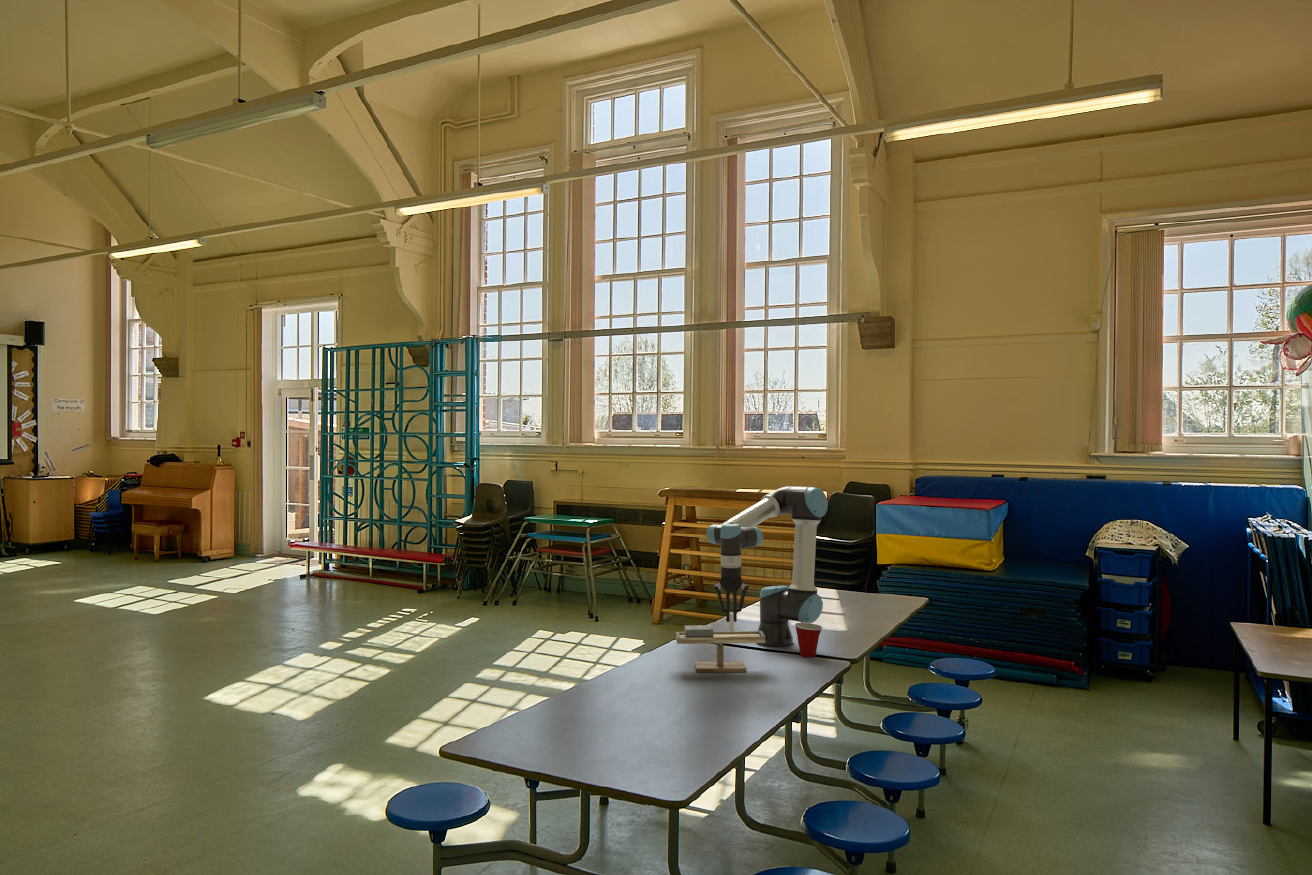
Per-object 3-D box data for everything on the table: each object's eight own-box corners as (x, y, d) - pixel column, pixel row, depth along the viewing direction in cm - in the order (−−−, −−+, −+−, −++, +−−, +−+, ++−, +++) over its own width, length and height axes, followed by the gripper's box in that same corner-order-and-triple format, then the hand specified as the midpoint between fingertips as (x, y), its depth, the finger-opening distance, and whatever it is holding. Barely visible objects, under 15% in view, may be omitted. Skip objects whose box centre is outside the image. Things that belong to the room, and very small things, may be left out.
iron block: (684, 634, 325) (684, 625, 325) (711, 634, 325) (711, 625, 325) (685, 639, 318) (685, 629, 318) (713, 638, 318) (713, 629, 318)
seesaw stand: (694, 664, 326) (694, 640, 326) (742, 664, 327) (742, 640, 327) (696, 672, 316) (696, 647, 316) (746, 671, 317) (746, 647, 317)
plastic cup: (825, 659, 334) (825, 627, 334) (796, 659, 335) (796, 627, 335) (820, 652, 345) (820, 621, 345) (792, 652, 346) (792, 621, 346)
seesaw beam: (675, 640, 326) (675, 631, 326) (761, 638, 327) (761, 630, 327) (676, 646, 316) (676, 637, 316) (765, 645, 317) (765, 636, 317)
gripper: (714, 568, 318) (714, 633, 318) (750, 567, 318) (750, 632, 318) (712, 565, 325) (712, 628, 325) (747, 564, 325) (747, 628, 326)
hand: (731, 630), depth 322 cm, fingers closed
